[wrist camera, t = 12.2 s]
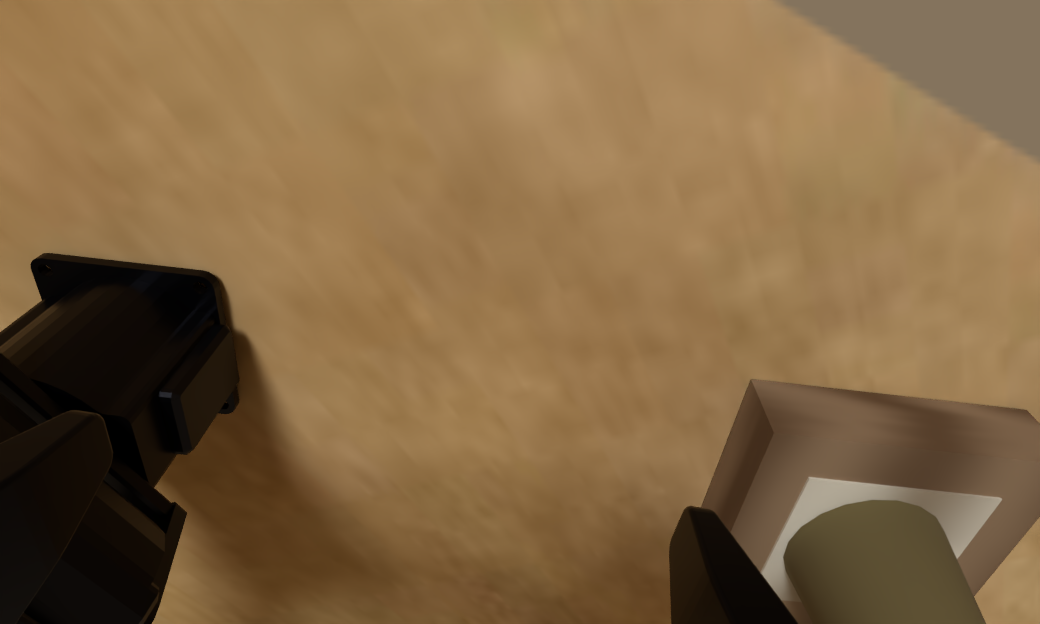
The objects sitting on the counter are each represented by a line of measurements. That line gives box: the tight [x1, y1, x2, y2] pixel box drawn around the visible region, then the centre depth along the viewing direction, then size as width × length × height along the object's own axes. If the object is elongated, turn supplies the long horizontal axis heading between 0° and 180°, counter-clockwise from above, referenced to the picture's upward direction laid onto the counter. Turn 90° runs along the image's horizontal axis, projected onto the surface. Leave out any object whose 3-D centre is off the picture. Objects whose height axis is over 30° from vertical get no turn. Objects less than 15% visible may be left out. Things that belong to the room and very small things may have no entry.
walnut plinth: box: [701, 379, 1040, 624], centre depth 26 cm, size 11×11×3 cm
